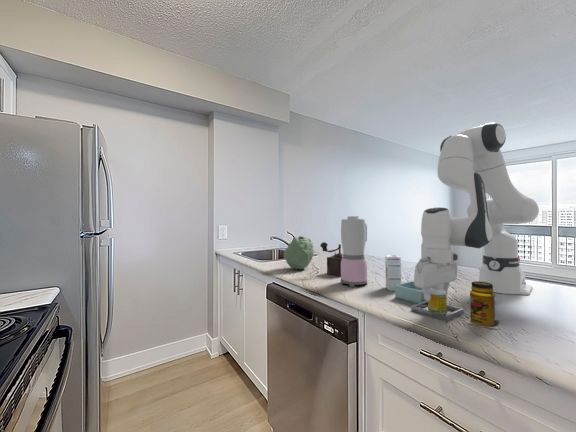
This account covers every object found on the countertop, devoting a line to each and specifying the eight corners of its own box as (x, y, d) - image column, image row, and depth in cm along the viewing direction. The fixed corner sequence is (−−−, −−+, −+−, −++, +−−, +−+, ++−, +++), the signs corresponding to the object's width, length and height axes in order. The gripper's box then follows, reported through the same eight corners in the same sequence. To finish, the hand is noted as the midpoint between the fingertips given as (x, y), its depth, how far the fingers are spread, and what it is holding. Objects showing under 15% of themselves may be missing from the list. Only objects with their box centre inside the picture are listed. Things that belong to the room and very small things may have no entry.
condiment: (467, 323, 80) (466, 283, 80) (470, 315, 86) (470, 278, 86) (498, 330, 75) (497, 287, 75) (499, 320, 82) (499, 281, 82)
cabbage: (278, 269, 162) (278, 236, 162) (301, 265, 174) (300, 234, 174) (296, 273, 150) (296, 238, 150) (319, 268, 163) (318, 235, 162)
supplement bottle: (440, 316, 86) (439, 286, 86) (424, 310, 91) (424, 282, 90) (450, 313, 88) (449, 283, 88) (434, 308, 93) (434, 280, 93)
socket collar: (429, 303, 97) (429, 299, 97) (464, 313, 88) (464, 308, 88) (411, 310, 91) (411, 306, 91) (446, 321, 81) (446, 316, 81)
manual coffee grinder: (337, 271, 155) (337, 240, 155) (353, 274, 147) (353, 241, 147) (319, 275, 146) (318, 242, 146) (334, 278, 137) (334, 243, 137)
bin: (411, 293, 111) (410, 281, 111) (436, 299, 102) (436, 286, 102) (395, 297, 105) (395, 285, 105) (420, 305, 96) (420, 291, 96)
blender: (354, 288, 118) (353, 216, 118) (335, 283, 128) (334, 216, 128) (377, 283, 127) (376, 216, 127) (357, 278, 137) (356, 216, 137)
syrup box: (401, 291, 114) (401, 257, 114) (387, 290, 115) (386, 256, 115) (399, 287, 120) (398, 255, 119) (385, 286, 121) (384, 254, 121)
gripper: (427, 260, 81) (428, 306, 81) (461, 254, 92) (461, 294, 92) (408, 257, 86) (408, 300, 86) (442, 252, 97) (442, 290, 97)
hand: (436, 297), depth 89 cm, fingers open, 8 cm apart
